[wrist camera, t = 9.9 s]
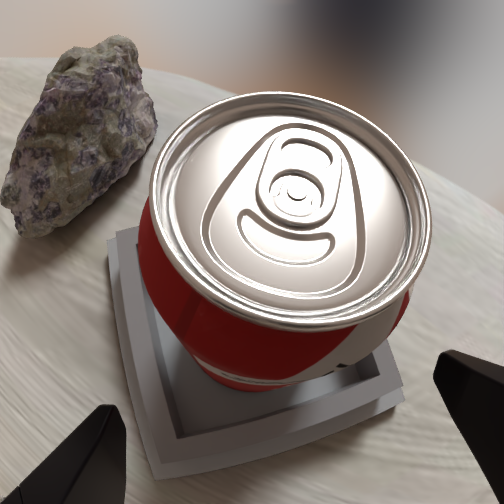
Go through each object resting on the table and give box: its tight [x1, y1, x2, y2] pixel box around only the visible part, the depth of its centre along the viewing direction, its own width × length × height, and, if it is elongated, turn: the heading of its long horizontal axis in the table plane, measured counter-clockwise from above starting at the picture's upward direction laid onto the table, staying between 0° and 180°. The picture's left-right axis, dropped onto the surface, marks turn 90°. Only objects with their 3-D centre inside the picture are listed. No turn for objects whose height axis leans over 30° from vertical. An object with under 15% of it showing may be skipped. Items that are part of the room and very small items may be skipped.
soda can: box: [138, 92, 432, 392], centre depth 11 cm, size 7×7×12 cm
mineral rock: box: [0, 35, 158, 239], centre depth 18 cm, size 13×11×10 cm
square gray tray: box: [107, 226, 405, 481], centre depth 16 cm, size 14×14×4 cm
